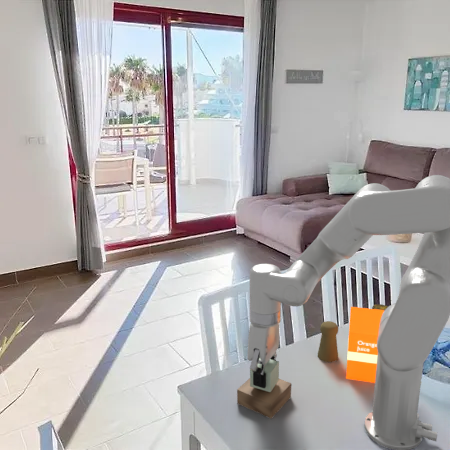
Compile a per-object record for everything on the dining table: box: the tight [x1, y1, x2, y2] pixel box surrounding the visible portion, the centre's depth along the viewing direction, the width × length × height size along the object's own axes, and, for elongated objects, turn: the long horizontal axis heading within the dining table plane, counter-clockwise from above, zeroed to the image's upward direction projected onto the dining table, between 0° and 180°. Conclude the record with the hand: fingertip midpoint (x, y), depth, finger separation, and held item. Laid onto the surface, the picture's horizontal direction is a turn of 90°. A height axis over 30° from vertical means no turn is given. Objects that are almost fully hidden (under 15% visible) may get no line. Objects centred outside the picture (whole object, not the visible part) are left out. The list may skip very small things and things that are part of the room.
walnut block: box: [236, 377, 292, 420], centre depth 118 cm, size 10×10×4 cm
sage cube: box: [249, 358, 280, 392], centre depth 116 cm, size 6×6×6 cm
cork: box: [317, 320, 339, 363], centre depth 136 cm, size 6×6×11 cm
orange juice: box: [345, 306, 384, 384], centre depth 126 cm, size 8×9×20 cm
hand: (264, 378), depth 116 cm, fingers open, 5 cm apart
